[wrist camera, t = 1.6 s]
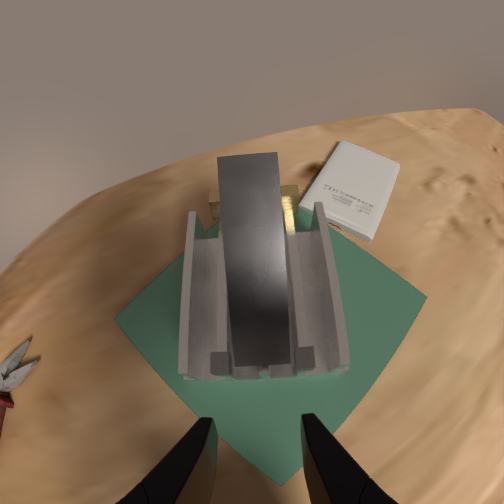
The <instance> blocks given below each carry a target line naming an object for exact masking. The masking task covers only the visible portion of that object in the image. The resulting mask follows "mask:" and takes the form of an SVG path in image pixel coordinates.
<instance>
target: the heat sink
mask: <svg viewBox="0 0 504 504" xmlns="http://www.w3.org/2000/svg"><path fill="white" fill-rule="evenodd" d="M280 190H281V202H282V214H283V228H284V242H285V258H286V274H287V292H288V311H289V334H290V361H291V364H280V365H265V366H244V367H235V363H234V354H233V344H232V335H231V325H230V315H229V305H228V294H227V283H226V272H225V260H224V248H223V236H222V222H221V209H220V195H219V191H211V192H209V201H208V203H209V206H210V209H211V213H212V216H213V219H214V220H216V219H219V235H218V238H213V239H207V238H206V235H205V233H204V230H203V227H202V225H201V222H200V219H199V217H198V214H197V211H190V212H189V214H188V223H187V233H186V243H185V254H184V265H183V278H182V292H181V308H180V327H179V353H178V374H180V375H183V376H184V380H186V381H189V382H241V381H265V380H280V379H293V378H304V377H314V376H322V375H330V374H338V373H345V372H347V371H348V370H349V365H350V364H351V363H350V355H349V347H348V339H347V332H346V325H345V318H344V311H343V305H342V299H341V293H340V287H339V281H338V275H337V270H336V265H335V259H334V254H333V249H332V244H331V239H330V234H329V230H328V225H327V220H326V216H325V212H324V207H323V203H322V202H314V209H313V216H312V222H311V229H310V232H295V227H294V220H293V214H296V213H298V207H299V191H298V185H285V186H280Z"/></svg>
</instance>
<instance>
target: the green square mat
mask: <svg viewBox="0 0 504 504" xmlns="http://www.w3.org/2000/svg"><path fill="white" fill-rule="evenodd" d="M282 215H283V214H282ZM312 216H313V215H311V214H310V213H308V212H307V211H305V210H304V209H302V208H300V207H298V213H296V214H293V220H294V227H295V232H310V229H311V222H312ZM328 230H329V234H330V239H331V244H332V249H333V254H334V259H335V265H336V270H337V275H338V281H339V287H340V293H341V299H342V305H343V311H344V318H345V325H346V332H347V339H348V347H349V355H350V363H351V364H350V365H349V370H348V371H347V372H345V373H338V374H330V375H322V376H314V377H304V378H293V379H280V380H265V381H241V382H189V381H186V380H184V376H183V375H180V374H178V353H179V327H180V308H181V292H182V278H183V265H184V254H185V252H184V253H183V254H182V255H181V256H179V257H178V258H177V259H176V260H175V261H174V262H173V263H172V264H171V265H170V266H169V267H167V268H166V269H165V270H164V271H163V272H162V273H161V274H160V275H159V276H158V277H157V278H156V279H155V280H154V281H153V282H151V283H150V284H149V285H148V286H147V287H146V288H145V289H144V290H143V291H142V292H141V293H140V294H139V295H138V296H137V297H136V298H135V299H134V300H133V301H132V302H131V303H130V304H128V305H127V306H126V307H125V308H124V309H123V310H122V311H121V312H120V313H119V314H118V315H117V316H116V317H115V318H114V319H115V321H116V322H117V324H118V325H119V326H120V328H121V329H122V330H123V332H124V333H125V334H126V335H127V337H128V338H129V339H130V341H131V342H132V343H133V344H134V346H135V347H136V348H137V349H138V351H139V352H140V353H141V354H142V356H143V357H144V358H145V359H146V360H147V362H148V363H149V364H150V365H151V366H152V367H153V369H154V370H155V371H156V372H157V373H158V374H159V376H160V377H161V378H162V379H163V380H164V381H165V382H166V383H167V385H168V386H169V387H170V388H171V389H172V390H173V391H174V392H175V393H176V394H177V395H178V396H179V397H180V398H181V400H182V401H183V402H184V403H185V404H186V405H187V406H188V407H189V408H190V409H191V410H192V411H193V412H194V413H195V414H196V415H197V416H198V417H199V418H201V417H212V418H213V419H214V422H215V426H216V429H217V434H218V436H219V437H220V438H222V439H223V440H224V441H225V442H226V443H227V444H228V445H229V446H231V447H232V448H233V449H234V450H235V451H236V452H238V453H239V454H240V455H241V456H242V457H243V458H245V459H246V460H247V461H248V462H250V463H251V464H252V465H253V466H255V467H256V468H257V469H258V470H260V471H261V472H262V473H263V474H265V475H266V476H267V477H269V478H270V479H271V480H273V481H274V482H275V483H277V484H278V485H280V486H282V485H283V484H284V483H285V482H287V481H288V480H289V479H290V478H291V477H292V476H293V475H294V474H295V473H296V472H297V471H298V470H299V469H300V468H301V467H302V466H303V457H302V445H301V433H300V427H301V415H302V414H305V413H314V414H315V415H316V416H317V417H318V418H319V419H320V421H321V422H322V423H323V424H324V425H325V427H326V428H327V429H328V430H329V431H330V432H331V434H332V435H333V434H334V432H335V431H336V430H337V429H338V428H339V427H340V426H341V424H342V423H343V422H344V421H345V420H346V418H347V417H348V416H349V415H350V414H351V412H352V411H353V410H354V409H355V407H356V406H357V405H358V404H359V402H360V401H361V400H362V398H363V397H364V396H365V394H366V393H367V392H368V390H369V389H370V388H371V386H372V385H373V384H374V382H375V381H376V380H377V378H378V377H379V375H380V374H381V372H382V371H383V370H384V368H385V367H386V365H387V364H388V362H389V361H390V359H391V358H392V356H393V355H394V353H395V352H396V350H397V348H398V347H399V345H400V344H401V342H402V341H403V339H404V337H405V336H406V334H407V332H408V331H409V329H410V327H411V326H412V324H413V322H414V320H415V319H416V317H417V315H418V313H419V312H420V310H421V308H422V306H423V304H424V302H425V300H426V299H427V296H425V295H424V294H423V293H422V292H420V291H419V290H418V289H416V288H415V287H414V286H412V285H411V284H410V283H408V282H407V281H406V280H404V279H403V278H402V277H400V276H399V275H398V274H396V273H395V272H394V271H392V270H391V269H390V268H388V267H387V266H385V265H384V264H383V263H381V262H380V261H379V260H377V259H376V258H374V257H373V256H372V255H370V254H369V253H367V252H366V251H364V250H363V249H362V248H360V247H359V246H357V245H356V244H354V243H353V242H352V241H350V240H349V239H347V238H346V237H344V236H343V235H341V234H340V233H338V232H337V231H335V230H334V229H332V228H331V227H329V226H328ZM205 235H206V238H207V239H213V238H218V235H219V221H218V222H217V223H216V224H215V225H214V226H213V227H212V228H211V229H209V230H208V231H207V232H206V233H205Z"/></svg>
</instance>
